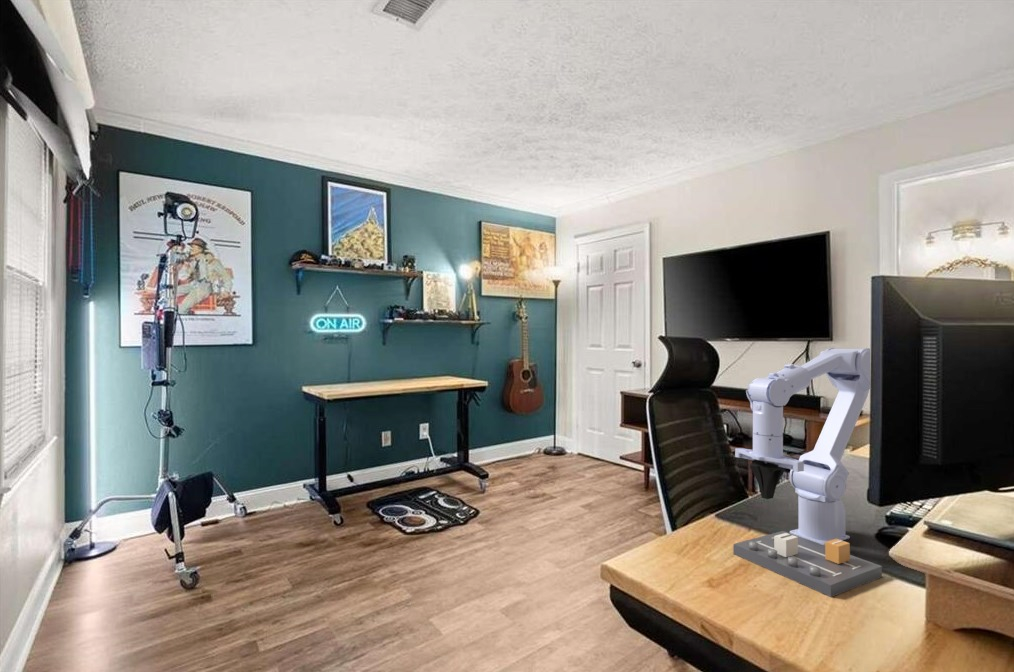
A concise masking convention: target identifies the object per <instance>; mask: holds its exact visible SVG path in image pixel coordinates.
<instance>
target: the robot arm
mask: <svg viewBox="0 0 1014 672" xmlns="http://www.w3.org/2000/svg"><path fill="white" fill-rule="evenodd" d="M870 349H871V348H870V347H869V348H868V347H865V348H835V347H829V348H827V349H825V350H822V351H820V353H819V354H818V356H815V357H814V358H812V359H810V360H809V361H807V362H806V363H804V364H802V365H799V364H793V363H787V364H785V365H783V367H784V368H783V369H780V370H779V371H776V372H770V373H768V375H767V376H766V377H756V378H755V379H753V380H752V381H751V382H750V383H749V385H748V387H747V389H746V390H745V393H746V397H747V399H748V401H749V403H750V409H751V411H752V449H749V448H744V447H735V449H734V455H735V456H734V458H739V459H741V458H742V459H746V460H748V461H749V460H751V461H753V462H752V463H749V468H750V469H751V471H752V473H753V475H754V476H755V479H756V483H757V485H758V489H759V492H760V496H761V498H762V499H766V500H771V499H774V496H775V492H776V488H777V486H778V483H779V481H780V479H781V478H782V476H783V474H784V473H785V471H786V469H788V470H790V471H789V477H788V479H789V483H790V485H791V486H792V487H793V488H794V489H795V490H794V491H795V494H797V495H798V497H797V498H798V499H797V501H798V502H797V503H798V507H797V508H798V519H797V520H798V528H796V529H792V530H789V533H791V534H794V535H796V536H799V537H802V538H805V539H808V540H810V541H813V542H816V543H819V544H822V545H824V546H825V542H827V541H830V540H833V539H839V540H842V541H845V540H849V539H850V538H851V537H850V535H847V534H846V508H845V507H846V506H845V505H844V503H843V502H842V500H841V499H842V498H843V496H844V495H845V493H846V490H847V481H848V478H849V477H848V476H849V473H850V472H849V470H848V469H847V468H846V466H845V465H844V464H843V463H842V461H841V460H842V458H843V455H844V453H845V450H846V449H847V445H848V443H849V440H850V439H851V436H852V434H853V431H854V429H855V426H856V424H857V422H858V419H859V417H860V414H861V412H862V410H863V408H864V405H865V404H866V400H867V398H868V395H869V392H870V390H871V389H870ZM822 375H826V376H827V379H829V381H830V383H831V385H832V386H833V387H835V388H836V389H837V391H838V393H837V395H836V397H835V400H834V402H833V404H832V407H831V408H830V411H829V413H828V415H827V417H826V421H825V422H824V425H823V427H822V429H821V432H820V434H819V437H818V439H817V441H816V443H815V446H814V448H813V449H812V450H810V451H808V452H805V453H804V454H801V455H800V456H799V459H796V458H793V457H789V456H786V455H784V446H783V445H784V442H783V441H784V430H783V429H784V422H783V421H784V406H786V405H787V404H788V402H789V401H790V398H791V397H792V396H794V395H795V394H797V393H799V392H801V391H803V390H805V389H808V387H809V386H810V384H811V381H812V380H814V379H815V378H818V377H821V376H822Z"/></svg>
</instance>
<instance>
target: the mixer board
mask: <svg viewBox="0 0 1014 672" xmlns="http://www.w3.org/2000/svg"><path fill="white" fill-rule="evenodd" d="M784 533H788V534H790V535H793V536H796V535H794V534H791V533H790V532H788V531H785V530H781V531H777V532H773V533H770V534H765V535H763V536H759V537H758V536H757V537H755V538H751V539H747V540H743V541H740V542H736V543H733V546H732V547H733V548H732V549H733V552H732V553H733V554H734V555H735V556H737V557H740V558H742V559H744V560H747V561H748V562H751V563H753V564H756V565H757V566H760V567H762V568H765V569H767V570H769V571H770V572H773V573H776V574H778V575H780V576H782V577H785V578H787V579H789V580H791V581H794V582H796V583H798V584H800V585H802V586H805V587H808V588H810V589H812V590H814V591H816V592H819V593H821V594H822V595H825V596H828V597H829V598H832V597H834V596H836V595H839V594H842V593H844V592H847V591H850V590H852V589H855V588H857V587H860V586H863V585H865V584H868V583H870V582H873V581H876V580H878V579H881V578H883V566H882V565H880V564H877V563H876V562H875V563H874V562H872V561H869V560H865V559H864V558H863V559H862V558H860V557H858V556H855V555H852V554H850V560H849V561H846V562H843V563H840V564H837V563H835V562H832V561H829V560H827V559H825V545H822V544H819V543H816V542H813V541H810V540H808V539H805V538H802V537H799V536H796V537H798V554H796V555H792V556H789V557H784V556H782V555H779V554H777V550H774V536H776V535H780V534H784Z"/></svg>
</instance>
